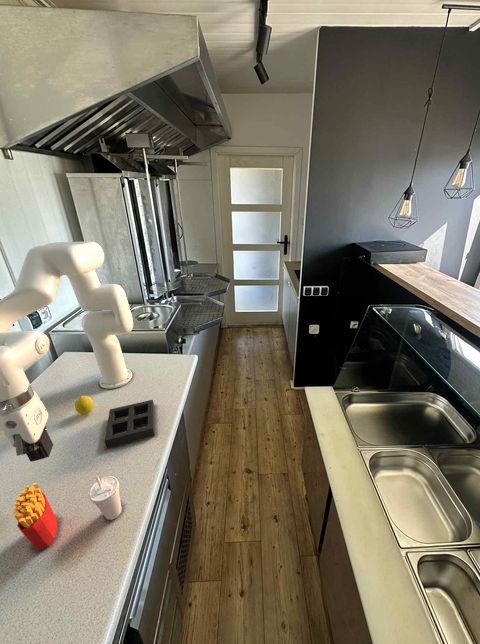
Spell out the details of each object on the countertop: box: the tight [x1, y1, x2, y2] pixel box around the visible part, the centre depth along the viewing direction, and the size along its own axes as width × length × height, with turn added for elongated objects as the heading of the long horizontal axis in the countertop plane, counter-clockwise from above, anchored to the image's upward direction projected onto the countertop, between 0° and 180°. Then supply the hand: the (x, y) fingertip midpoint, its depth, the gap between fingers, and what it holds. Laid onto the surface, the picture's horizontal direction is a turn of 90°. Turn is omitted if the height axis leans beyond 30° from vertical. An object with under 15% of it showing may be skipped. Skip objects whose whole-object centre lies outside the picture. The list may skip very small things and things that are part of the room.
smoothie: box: [88, 474, 122, 521], centre depth 70 cm, size 6×6×14 cm
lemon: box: [74, 395, 94, 416], centre depth 102 cm, size 6×6×8 cm
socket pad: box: [103, 399, 156, 449], centre depth 98 cm, size 14×14×4 cm
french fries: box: [13, 482, 58, 551], centre depth 66 cm, size 9×4×13 cm, turn 25°
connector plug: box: [26, 428, 54, 459], centre depth 73 cm, size 4×4×6 cm
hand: (41, 450), depth 74 cm, fingers closed on connector plug, 4 cm apart
